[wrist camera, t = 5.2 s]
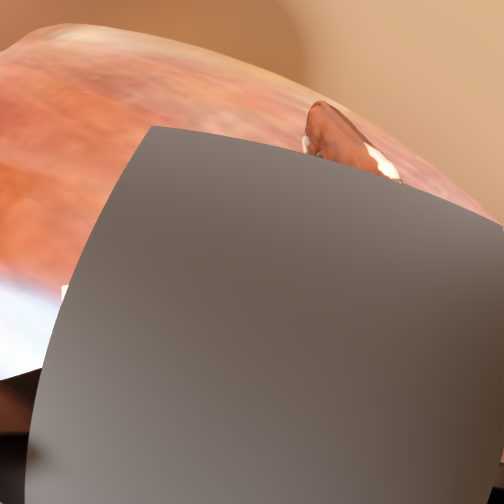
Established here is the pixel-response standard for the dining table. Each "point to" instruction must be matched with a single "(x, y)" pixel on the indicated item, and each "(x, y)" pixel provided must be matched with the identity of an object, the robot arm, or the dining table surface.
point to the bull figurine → (343, 142)
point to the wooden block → (272, 339)
